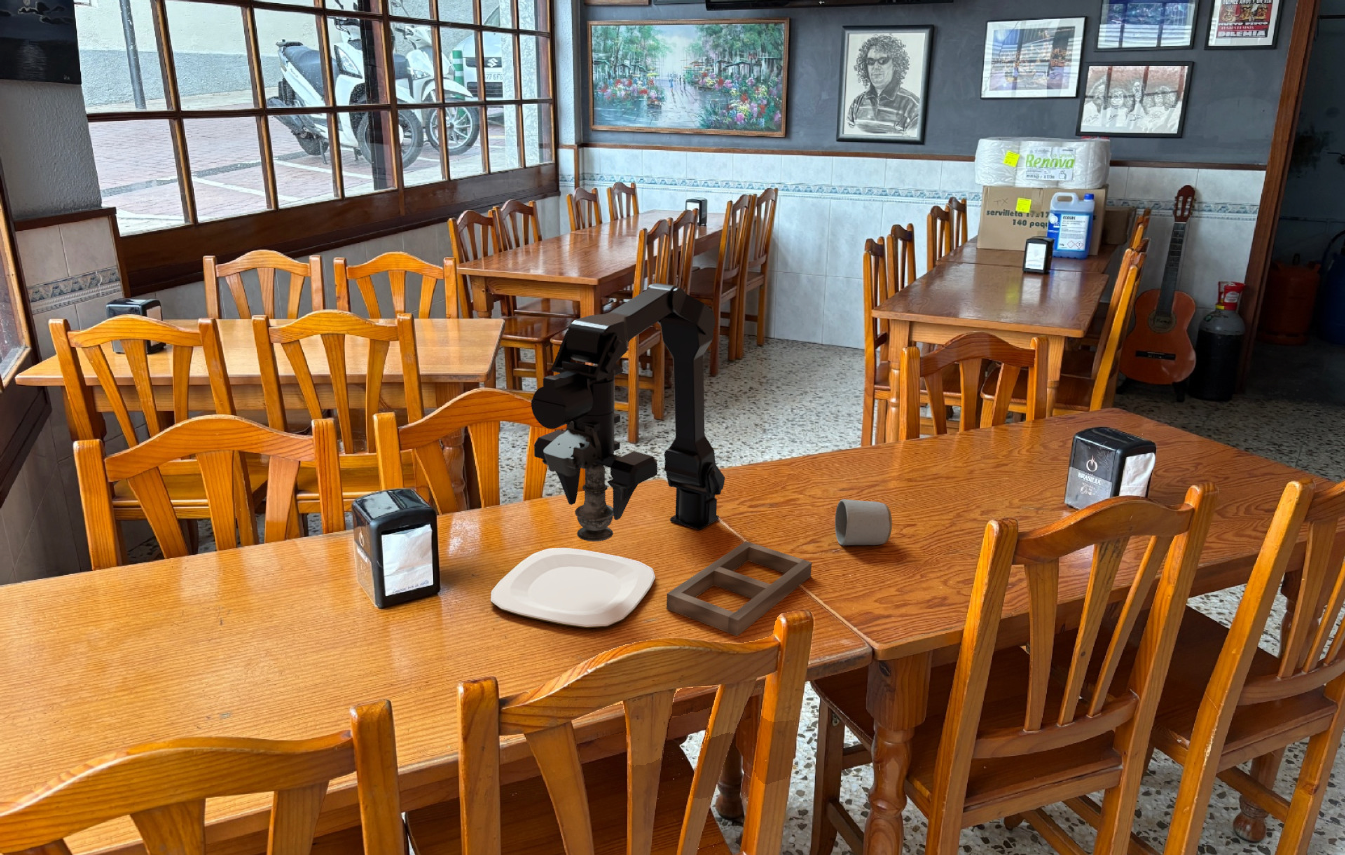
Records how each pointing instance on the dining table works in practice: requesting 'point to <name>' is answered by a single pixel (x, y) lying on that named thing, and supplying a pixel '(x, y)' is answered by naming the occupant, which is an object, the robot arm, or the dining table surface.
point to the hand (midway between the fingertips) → (594, 511)
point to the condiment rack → (739, 587)
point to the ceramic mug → (862, 522)
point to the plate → (574, 587)
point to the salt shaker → (594, 507)
